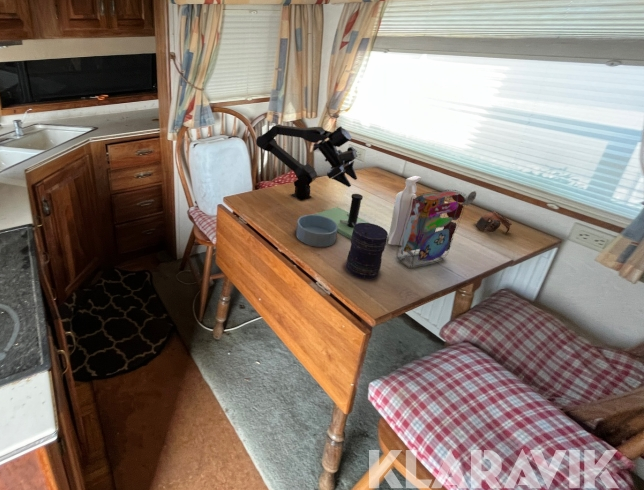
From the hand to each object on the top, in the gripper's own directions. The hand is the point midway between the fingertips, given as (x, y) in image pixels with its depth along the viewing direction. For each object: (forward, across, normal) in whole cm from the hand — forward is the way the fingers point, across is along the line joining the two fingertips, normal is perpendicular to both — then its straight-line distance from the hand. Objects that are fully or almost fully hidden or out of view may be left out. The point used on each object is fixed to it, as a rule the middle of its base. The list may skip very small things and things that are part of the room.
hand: (353, 182), depth 149 cm
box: (+32, -19, -14) cm, 40 cm away
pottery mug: (+44, +15, -26) cm, 53 cm away
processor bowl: (+6, -30, +12) cm, 32 cm away
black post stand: (+12, -16, +4) cm, 20 cm away
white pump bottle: (+24, -16, -6) cm, 29 cm away
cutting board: (+10, -14, +7) cm, 19 cm away
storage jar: (+20, -40, -2) cm, 45 cm away
